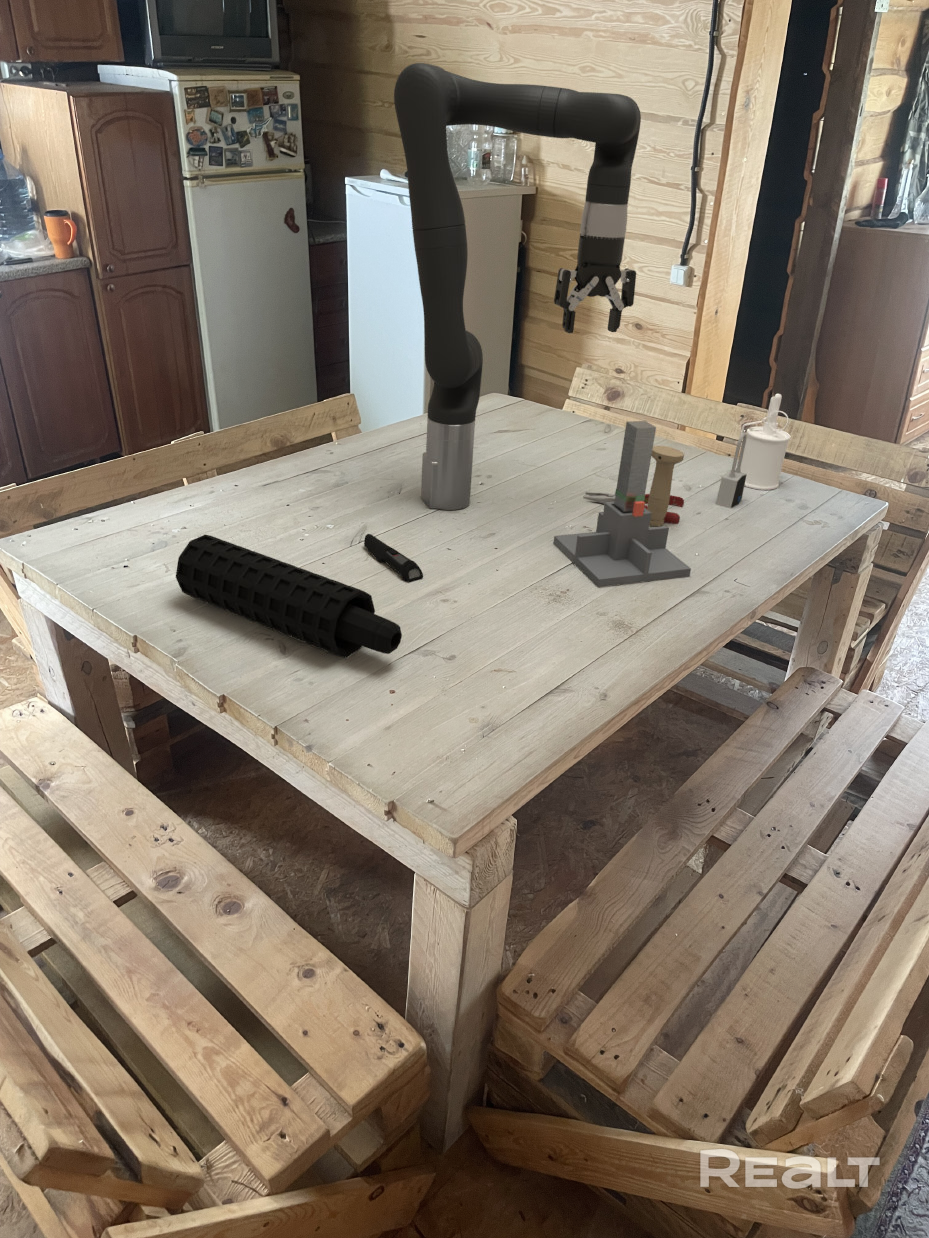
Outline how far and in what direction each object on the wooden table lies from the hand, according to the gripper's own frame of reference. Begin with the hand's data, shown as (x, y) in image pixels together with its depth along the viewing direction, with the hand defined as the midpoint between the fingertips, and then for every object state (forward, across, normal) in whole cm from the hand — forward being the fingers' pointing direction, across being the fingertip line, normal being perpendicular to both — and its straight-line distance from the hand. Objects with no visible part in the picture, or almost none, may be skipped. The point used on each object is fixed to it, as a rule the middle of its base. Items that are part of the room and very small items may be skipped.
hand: (590, 331), depth 158 cm
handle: (+36, -17, +5) cm, 40 cm away
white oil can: (+36, -52, -11) cm, 64 cm away
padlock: (+36, -39, -2) cm, 53 cm away
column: (+28, -2, +18) cm, 34 cm away
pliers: (+37, -19, -4) cm, 42 cm away
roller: (+36, +59, +28) cm, 75 cm away
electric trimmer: (+37, +39, +10) cm, 54 cm away
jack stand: (+36, -2, +18) cm, 40 cm away
